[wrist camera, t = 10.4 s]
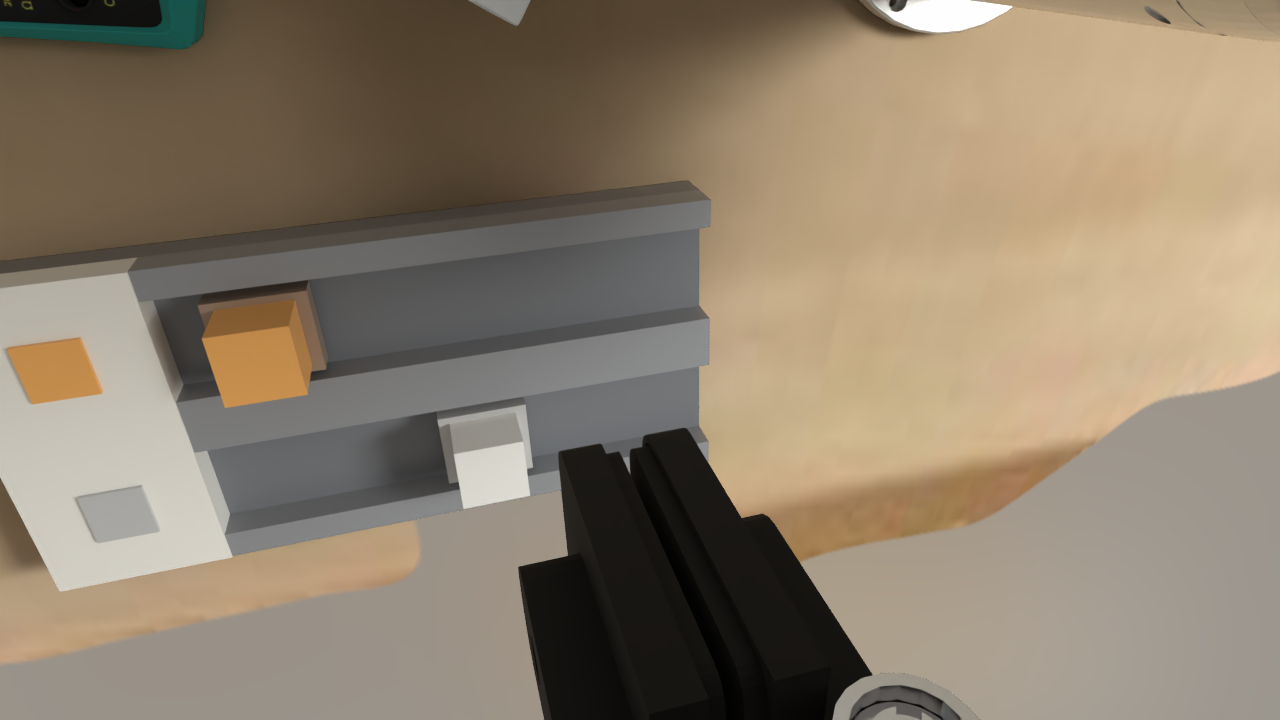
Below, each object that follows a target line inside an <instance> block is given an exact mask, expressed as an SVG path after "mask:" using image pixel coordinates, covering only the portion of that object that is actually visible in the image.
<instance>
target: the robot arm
mask: <svg viewBox="0 0 1280 720" xmlns="http://www.w3.org/2000/svg"><path fill="white" fill-rule="evenodd" d="M859 1H860V2H861V3H862V4H863V5H864V6H865V7H866V8H868V9H869V10H870V11H871V12H872V13H873V14H874V15H876V16H878V17H880V18H881V19H883V20H885V21H886V22H888V23H890V24H892V25H894V26H898V27H901V28H905V29H908V30H912V31H916V32H923V33H930V34H947V33H959V32H962V31H965V30H969V29H972V28H975V27H979V26H982V25H984V24H986V23H988V22H989V21H991V20H993V19H995V18H997V17H999V16H1001V15H1003V14H1004V13H1006V12H1007V11H1009V10H1010V9H1011V8H1012V7H1020V8H1027V9H1034V10H1041V11H1049V12H1056V13H1063V14H1070V15H1078V16H1085V17H1092V18H1099V19H1107V20H1114V21H1121V22H1128V23H1136V24H1143V25H1150V26H1157V27H1165V28H1172V29H1179V30H1186V31H1193V32H1201V33H1208V34H1215V35H1222V36H1232V37H1240V38H1247V39H1255V40H1263V41H1271V42H1280V0H891V2H890V3H889V0H859ZM629 459H630V473H629V471H628V469H627V466H626V464H625V462H624V460H623V458H622V455H621V454H620V452H612V453H607V454H606V452H605V450H604V448H603V446H602V444H600V443H599V444H594V445H589V446H583V447H578V448H573V449H567V450H562V451H559V453H558V461H559V472H560V482H561V491H562V501H563V511H564V521H565V530H566V540H567V550H568V556H566V557H561V558H557V559H552V560H547V561H543V562H538V563H534V564H529V565H525V566H520V567H518V569H519V579H520V586H521V592H522V599H523V607H524V613H525V620H526V626H527V632H528V638H529V644H530V650H531V655H532V660H533V666H534V670H535V676H536V681H537V686H538V691H539V696H540V701H541V706H542V710H543V715H544V720H981V719H980V718H979V717H978V716H977V715H976V714H975V713H974V712H973V711H972V710H971V709H970V708H969V707H968V706H967V705H966V704H965V703H963V702H962V701H961V700H960V699H959V698H958V697H956V696H955V695H954V694H952V693H951V692H950V691H949V690H947V689H945V688H943V687H941V686H939V685H937V684H935V683H933V682H932V681H929V680H927V679H924V678H920V677H917V676H913V675H909V674H905V673H880V674H876V675H872V673H871V672H870V670H869V669H868V667H867V666H866V664H865V662H864V661H863V659H862V658H861V656H860V655H859V653H858V652H857V650H856V649H855V647H854V646H853V644H852V643H851V641H850V639H849V638H848V636H847V635H846V633H845V632H844V630H843V629H842V627H841V626H840V624H839V622H838V621H837V619H836V618H835V616H834V615H833V613H832V612H831V610H830V609H829V607H828V606H827V604H826V602H825V601H824V600H823V598H822V596H821V595H820V593H819V592H818V590H817V589H816V587H815V586H814V584H813V583H812V581H811V579H810V578H809V576H808V575H807V573H806V572H805V571H804V569H803V567H802V566H801V564H800V562H799V561H798V559H797V558H796V556H795V555H794V553H793V552H792V550H791V549H790V547H789V546H788V544H787V542H786V541H785V539H784V538H783V536H782V535H781V533H780V532H779V530H778V529H777V527H776V526H775V524H774V523H773V522H772V520H771V519H770V518H769V517H768V516H766V515H764V514H759V515H754V516H750V517H745V518H741V516H740V515H739V513H738V511H737V510H736V508H735V506H734V505H733V503H732V502H731V500H730V498H729V497H728V495H727V493H726V492H725V490H724V488H723V487H722V485H721V483H720V482H719V480H718V478H717V477H716V475H715V473H714V472H713V470H712V468H711V467H710V465H709V463H708V462H707V460H706V458H705V457H704V455H703V453H702V452H701V450H700V448H699V447H698V445H697V443H696V442H695V440H694V438H693V437H692V435H691V433H690V432H689V431H688V429H687V428H679V429H674V430H669V431H663V432H658V433H653V434H647V435H645V436H644V437H643V441H642V447H639V448H633V449H631V450H630V455H629Z"/></svg>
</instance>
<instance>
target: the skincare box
mask: <svg viewBox="0 0 1280 720" xmlns="http://www.w3.org/2000/svg"><path fill="white" fill-rule="evenodd" d="M468 1H470V2H472V3H474V4H475V5H477V6H479V7H481V8H482V9H484V10H486V11H488V12H490V13H492V14H493V15H495V16H497V17H499V18H501V19H503V20H505V21H507V22H509V23H510V24H513V25H515V26H517V25H519V23H520V21H521V19H522V18H523V16H524V13H525V11H526V9H527V7H528V5H529V3H530V1H531V0H468Z"/></svg>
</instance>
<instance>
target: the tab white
mask: <svg viewBox="0 0 1280 720" xmlns="http://www.w3.org/2000/svg"><path fill="white" fill-rule="evenodd" d="M436 412H437V421H438V426H439V431H440V437H441V442H442V447H443V453H444V458H445V464H446V469H447V474H448V480H449V484H450V483H455V482H459V486H460V492H461V498H462V503H463V509H467V508H472V507H477V506H482V505H487V504H492V503H497V502H502V501H507V500H512V499H517V498H522V497H527V496H530V490H529V482H528V474H527V469H529V468H533V463H532V455H531V447H530V438H529V430H528V422H527V414H526V405H525V402H524V398H523V397H518V398H512V399H506V400H500V401H495V402H489V403H483V404H477V405H471V406H465V407H460V408H454V409H448V410H442V411H436Z"/></svg>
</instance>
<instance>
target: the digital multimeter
mask: <svg viewBox="0 0 1280 720" xmlns="http://www.w3.org/2000/svg"><path fill="white" fill-rule="evenodd" d="M205 5H206V0H0V36H3V37H19V38H35V39H52V40H68V41H84V42H99V43H111V44H123V45H135V46H147V47H159V48H171V49H184V48H189V47H190V46H192V45H193V44H194V43H196V42H197V41H198V40H199V39H200V38H201V37H202V36H203V27H204V16H205ZM51 23H54V24H51ZM72 24H78V25H72ZM95 25H102V26H95ZM119 26H126V27H119ZM142 27H150V28H142Z"/></svg>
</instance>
